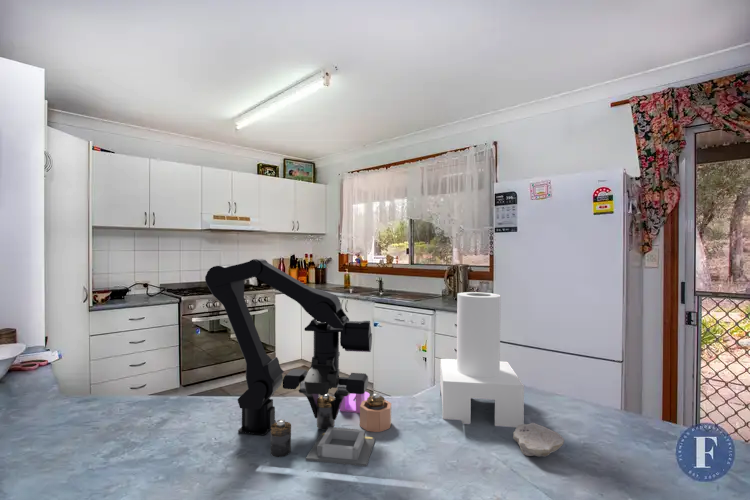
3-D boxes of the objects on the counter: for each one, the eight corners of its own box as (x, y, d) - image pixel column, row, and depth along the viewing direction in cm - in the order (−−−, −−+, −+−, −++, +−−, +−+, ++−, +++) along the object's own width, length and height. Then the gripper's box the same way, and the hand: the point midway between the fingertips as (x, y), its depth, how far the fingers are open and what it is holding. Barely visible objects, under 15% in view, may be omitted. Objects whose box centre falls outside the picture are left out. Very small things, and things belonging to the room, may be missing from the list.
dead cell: (365, 427, 87) (365, 397, 87) (368, 419, 91) (369, 390, 91) (382, 429, 86) (383, 398, 86) (385, 421, 90) (385, 391, 90)
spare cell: (267, 460, 75) (267, 424, 75) (275, 449, 79) (275, 415, 79) (286, 462, 74) (286, 426, 74) (293, 451, 78) (294, 417, 78)
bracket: (361, 416, 95) (361, 389, 95) (339, 414, 96) (339, 387, 96) (371, 396, 108) (371, 372, 108) (352, 395, 109) (352, 370, 109)
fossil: (531, 453, 73) (507, 412, 82) (526, 476, 76) (504, 434, 85) (573, 447, 74) (545, 407, 83) (567, 469, 77) (540, 428, 86)
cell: (314, 428, 85) (314, 397, 85) (319, 420, 89) (320, 390, 89) (331, 430, 84) (332, 398, 84) (336, 422, 88) (336, 392, 88)
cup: (357, 433, 86) (358, 409, 86) (363, 419, 93) (363, 397, 93) (388, 436, 85) (388, 412, 85) (392, 422, 92) (392, 399, 92)
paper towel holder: (440, 392, 111) (441, 289, 110) (507, 396, 108) (508, 291, 108) (442, 422, 92) (443, 298, 92) (523, 427, 89) (524, 300, 89)
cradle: (305, 464, 74) (305, 447, 74) (321, 438, 84) (321, 423, 84) (366, 470, 72) (366, 453, 72) (375, 443, 82) (375, 428, 82)
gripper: (272, 358, 80) (271, 431, 80) (359, 363, 77) (358, 439, 77) (292, 344, 91) (291, 409, 91) (369, 348, 88) (368, 415, 88)
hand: (325, 418), depth 87 cm, fingers closed on cell, 4 cm apart
